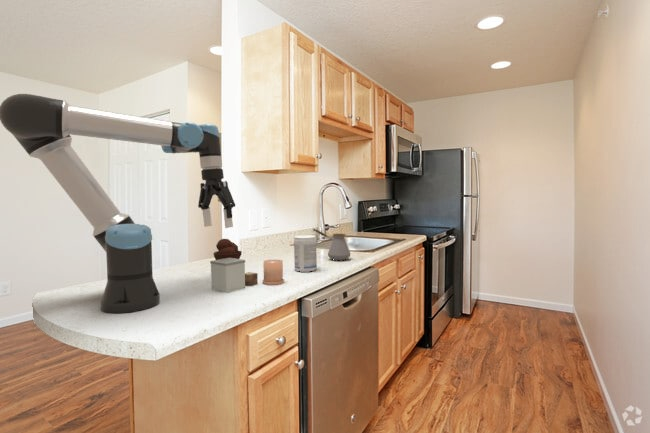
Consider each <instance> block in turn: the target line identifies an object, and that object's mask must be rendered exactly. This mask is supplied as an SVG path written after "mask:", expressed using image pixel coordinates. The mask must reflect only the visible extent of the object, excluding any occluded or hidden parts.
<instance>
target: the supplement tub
mask: <svg viewBox="0 0 650 433" xmlns="http://www.w3.org/2000/svg"><path fill="white" fill-rule="evenodd" d="M293 251H294V252H293V253H294V255H293V257H294V258H293V259H294V260H293V261H294V270H295V271H296V272H298V271H300V272H301V273H307V272H308V273H310V271H312V272H315V271H316V270H317V268H318V265H317V264H318V260H317V238H316V235H311V234H310V235H309V234H307V235H306V234H305V235H302V234H301V235H295V236H294V237H293Z"/></svg>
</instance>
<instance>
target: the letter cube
mask: <svg viewBox="0 0 650 433" xmlns="http://www.w3.org/2000/svg"><path fill="white" fill-rule="evenodd" d="M258 276H259V275H258V273H257V272H246V273H245V287H254V286H256V285H258V280H259V279H258Z"/></svg>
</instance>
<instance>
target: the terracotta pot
mask: <svg viewBox="0 0 650 433" xmlns="http://www.w3.org/2000/svg"><path fill="white" fill-rule="evenodd" d="M283 263H284V262H283V260H281V259H266V260H263V279H262V285H265V286H280V285H282V284H284V283H285V279H284V273H283V272H284V271H283V270H284V268H283V267H284V266H283V265H284V264H283ZM279 284H280V285H279Z"/></svg>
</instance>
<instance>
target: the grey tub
mask: <svg viewBox="0 0 650 433" xmlns="http://www.w3.org/2000/svg"><path fill="white" fill-rule="evenodd" d="M209 263H210V274H211V276H210V279H211V281H210V284H211V285H210V286H211V287H210V288H211V290H214V291H218V292H221V293H226V294H228V293H231V292H234V291H239V290H241V289H245V288H246V286H245V272H246V268H245V267H246V264H245V263H246V259H240V258H239V259H235V258H225V259H219V260H216V259H215V260H210V261H209Z"/></svg>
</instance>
